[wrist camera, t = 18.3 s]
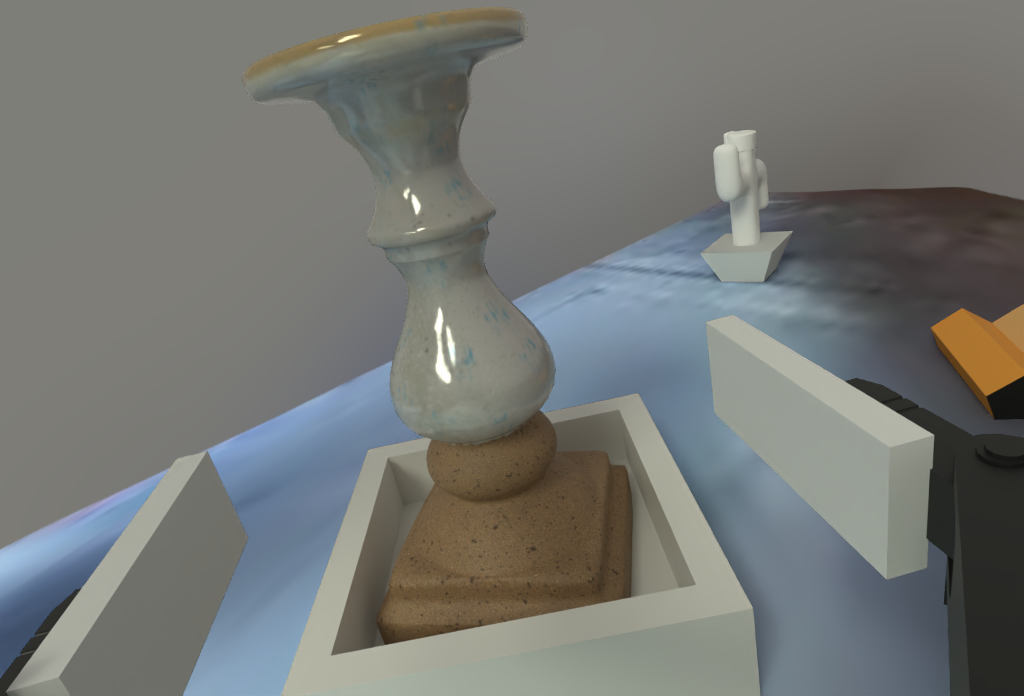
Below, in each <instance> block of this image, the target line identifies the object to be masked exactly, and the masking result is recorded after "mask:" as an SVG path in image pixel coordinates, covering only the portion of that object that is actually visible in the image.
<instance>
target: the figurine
mask: <svg viewBox="0 0 1024 696" xmlns="http://www.w3.org/2000/svg"><path fill="white" fill-rule="evenodd" d="M755 148H756V131H754V130H744V131H737V132H734V131H730V132H727V133H725V134H724V144H723V145H720V146H718V147H717V148H716V149H715V150H714V168H715V180H716V189H717V193H718V195H719V197H720V199H721V200H723V201H725V202H730V210H731V222H732V234H725V235H723V236H722V237H721V238H719V239H718V240H717V241H716V242H714V243H713V244H712V245H711V246H709V247H708V248H707V249H706V250H704V251H703V252H702V253H700V254H701V255H702V256H703V258H704V259H705V260H706V262H707V263H708V264H709V266H710V267H711V268H712V270H713V271H714V272H715V274H716V275H717V276H718V277H719V279H720V280H721V281H722V282H764V281H765V280H766V279H767V278H768V277H769V276H770V275H771V274H772V273H773V272H774V270H775V269H776V268H777V266H778V264H779V261H780V259H781V257H782V255H783V252H784V250H785V248H786V246H787V243H788V241H789V239H790V237H791V235H792V232H793V231H782V232H760V223H759V209H763V208H765V207H766V206H767V205H768V183H767V182H768V181H767V171H766V167H765V164H764V163H763V162H762V161H761V160H759V159H756V158H755Z"/></svg>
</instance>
